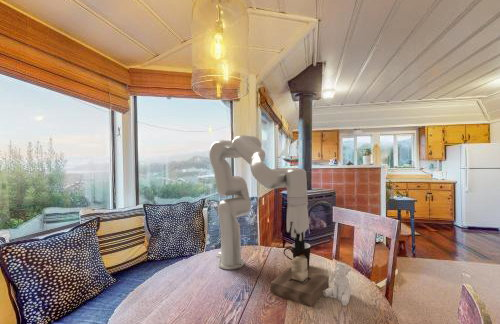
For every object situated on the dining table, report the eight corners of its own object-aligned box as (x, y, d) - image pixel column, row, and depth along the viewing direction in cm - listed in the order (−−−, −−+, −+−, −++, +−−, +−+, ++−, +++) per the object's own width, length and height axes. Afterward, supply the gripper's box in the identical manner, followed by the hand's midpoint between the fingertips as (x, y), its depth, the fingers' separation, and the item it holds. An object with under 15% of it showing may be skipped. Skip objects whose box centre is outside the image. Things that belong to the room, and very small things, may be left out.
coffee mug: (313, 265, 114) (313, 244, 114) (307, 272, 107) (306, 249, 107) (290, 261, 120) (289, 240, 121) (283, 267, 113) (282, 245, 113)
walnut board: (270, 293, 91) (270, 282, 91) (291, 276, 104) (290, 267, 104) (311, 307, 81) (311, 294, 81) (328, 287, 94) (328, 276, 94)
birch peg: (292, 291, 92) (291, 260, 92) (297, 286, 96) (296, 256, 96) (303, 294, 89) (302, 262, 90) (308, 289, 93) (307, 258, 93)
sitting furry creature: (321, 295, 88) (320, 262, 88) (335, 287, 93) (334, 256, 94) (345, 307, 81) (344, 270, 81) (359, 297, 86) (358, 263, 86)
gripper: (297, 198, 101) (299, 243, 101) (278, 203, 89) (281, 254, 89) (314, 199, 97) (317, 246, 96) (297, 204, 85) (300, 258, 84)
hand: (299, 250), depth 92 cm, fingers closed
